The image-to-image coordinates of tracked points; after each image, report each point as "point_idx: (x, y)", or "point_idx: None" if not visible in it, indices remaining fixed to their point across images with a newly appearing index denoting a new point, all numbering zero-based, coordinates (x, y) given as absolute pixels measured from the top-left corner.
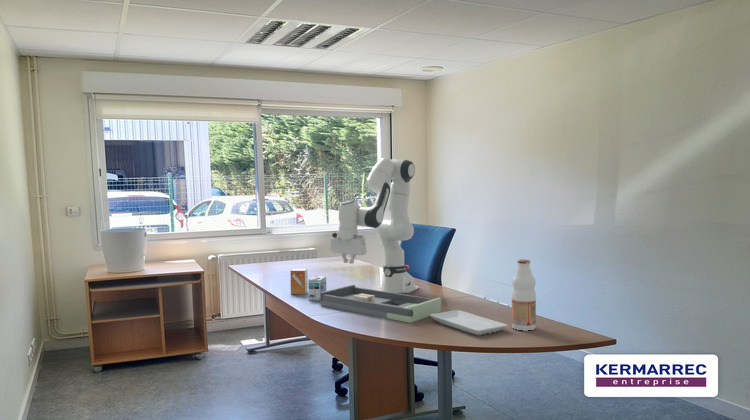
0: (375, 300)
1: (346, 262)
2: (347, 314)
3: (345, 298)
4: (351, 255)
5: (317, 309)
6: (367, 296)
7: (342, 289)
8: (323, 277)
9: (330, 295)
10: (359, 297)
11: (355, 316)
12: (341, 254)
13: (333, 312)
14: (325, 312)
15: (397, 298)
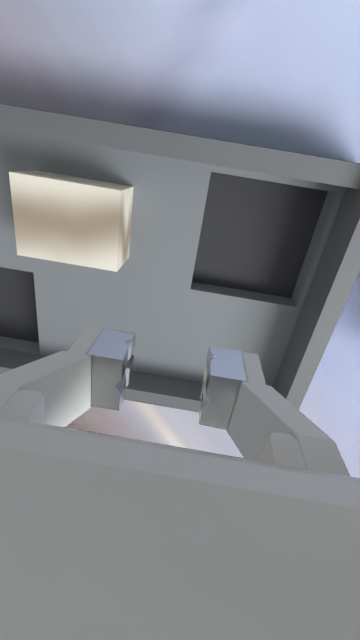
0: (89, 309)
1: (207, 360)
2: (93, 42)
3: (155, 137)
4: (5, 404)
5: (337, 59)
6: (31, 210)
7: (303, 347)
8: None
9: (305, 175)
10: (71, 181)
11: (22, 20)
12: (341, 462)
13: (198, 40)
14: (245, 6)
15: (8, 354)
